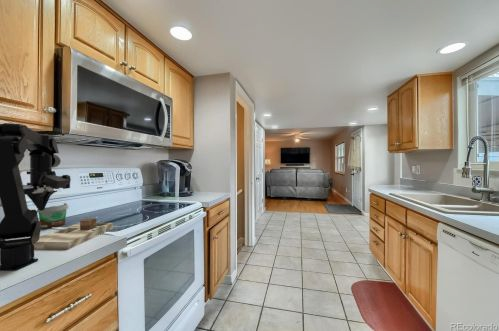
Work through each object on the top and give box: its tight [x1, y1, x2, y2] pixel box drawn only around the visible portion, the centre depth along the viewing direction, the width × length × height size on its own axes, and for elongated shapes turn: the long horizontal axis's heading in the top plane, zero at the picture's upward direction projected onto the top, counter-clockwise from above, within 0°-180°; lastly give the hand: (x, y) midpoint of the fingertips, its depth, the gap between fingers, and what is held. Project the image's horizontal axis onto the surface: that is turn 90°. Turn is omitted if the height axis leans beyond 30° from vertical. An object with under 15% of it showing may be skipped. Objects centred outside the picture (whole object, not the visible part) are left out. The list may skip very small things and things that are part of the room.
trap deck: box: [33, 222, 114, 250], centre depth 88 cm, size 24×16×3 cm, turn 179°
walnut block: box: [79, 217, 98, 230], centre depth 91 cm, size 4×4×4 cm
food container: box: [36, 202, 69, 230], centre depth 102 cm, size 12×6×10 cm, turn 168°
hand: (41, 210), depth 79 cm, fingers closed
